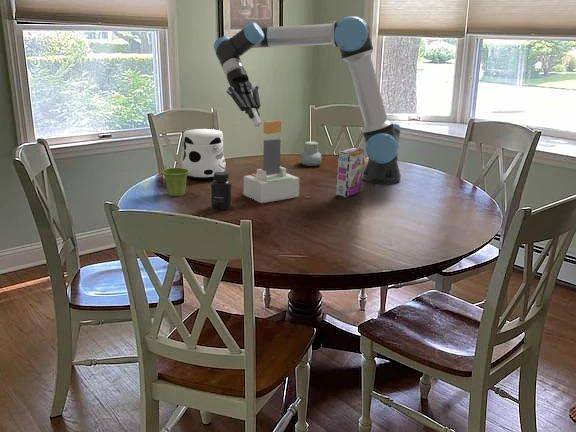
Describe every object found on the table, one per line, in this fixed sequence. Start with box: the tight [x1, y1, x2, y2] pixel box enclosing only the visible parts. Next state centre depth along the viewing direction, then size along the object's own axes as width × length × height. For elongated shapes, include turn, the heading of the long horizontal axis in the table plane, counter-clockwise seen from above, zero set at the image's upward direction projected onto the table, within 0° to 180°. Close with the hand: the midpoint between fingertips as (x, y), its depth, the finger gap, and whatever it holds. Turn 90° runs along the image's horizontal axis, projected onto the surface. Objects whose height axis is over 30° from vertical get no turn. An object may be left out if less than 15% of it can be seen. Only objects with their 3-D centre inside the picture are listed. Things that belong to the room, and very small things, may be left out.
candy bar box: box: [335, 147, 365, 198], centre depth 217 cm, size 11×5×16 cm, turn 145°
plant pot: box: [162, 167, 189, 197], centre depth 213 cm, size 9×9×9 cm
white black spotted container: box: [181, 128, 226, 180], centre depth 236 cm, size 17×17×18 cm
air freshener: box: [300, 141, 322, 167], centre depth 262 cm, size 11×8×10 cm
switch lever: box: [262, 119, 282, 175], centre depth 209 cm, size 2×6×19 cm, turn 124°
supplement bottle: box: [210, 171, 232, 211], centre depth 198 cm, size 7×7×12 cm
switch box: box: [243, 165, 300, 204], centre depth 213 cm, size 12×16×10 cm
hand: (258, 124), depth 214 cm, fingers closed
